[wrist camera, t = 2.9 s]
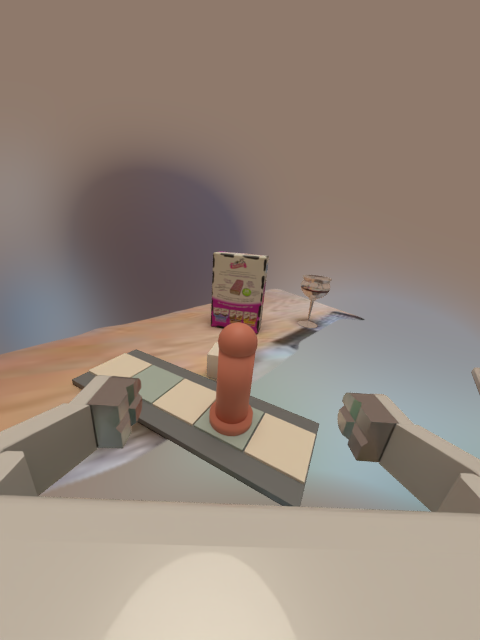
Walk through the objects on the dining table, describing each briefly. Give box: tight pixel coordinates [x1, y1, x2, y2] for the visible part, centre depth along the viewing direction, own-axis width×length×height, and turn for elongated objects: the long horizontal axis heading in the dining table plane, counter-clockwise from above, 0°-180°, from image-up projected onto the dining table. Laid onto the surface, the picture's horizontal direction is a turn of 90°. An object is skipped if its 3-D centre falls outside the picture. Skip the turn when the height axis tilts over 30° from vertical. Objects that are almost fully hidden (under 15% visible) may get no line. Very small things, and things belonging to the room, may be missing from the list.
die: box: [207, 342, 219, 379], centre depth 35 cm, size 4×4×4 cm
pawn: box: [209, 322, 257, 436], centre depth 23 cm, size 5×5×12 cm
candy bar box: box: [211, 252, 269, 333], centre depth 50 cm, size 11×5×16 cm, turn 78°
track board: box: [72, 349, 319, 507], centre depth 28 cm, size 10×30×1 cm, turn 63°
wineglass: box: [298, 275, 332, 328], centre depth 56 cm, size 7×7×12 cm
